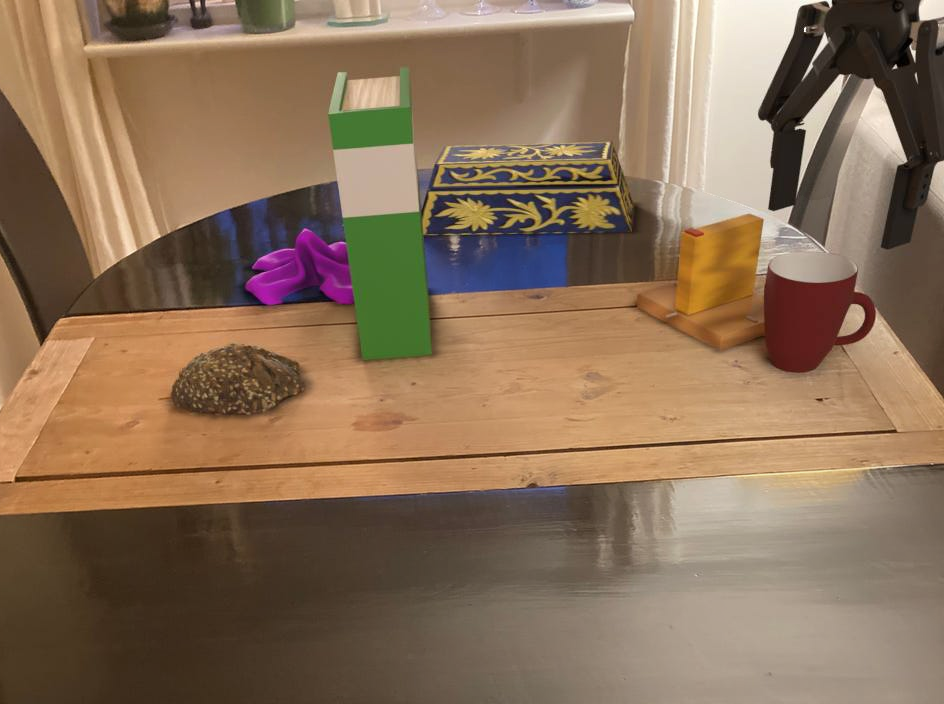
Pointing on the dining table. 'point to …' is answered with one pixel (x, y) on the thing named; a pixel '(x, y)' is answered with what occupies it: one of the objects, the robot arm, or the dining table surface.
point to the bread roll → (236, 381)
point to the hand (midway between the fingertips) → (835, 225)
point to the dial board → (708, 317)
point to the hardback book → (382, 213)
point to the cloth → (304, 271)
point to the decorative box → (527, 190)
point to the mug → (810, 308)
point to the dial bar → (718, 263)
